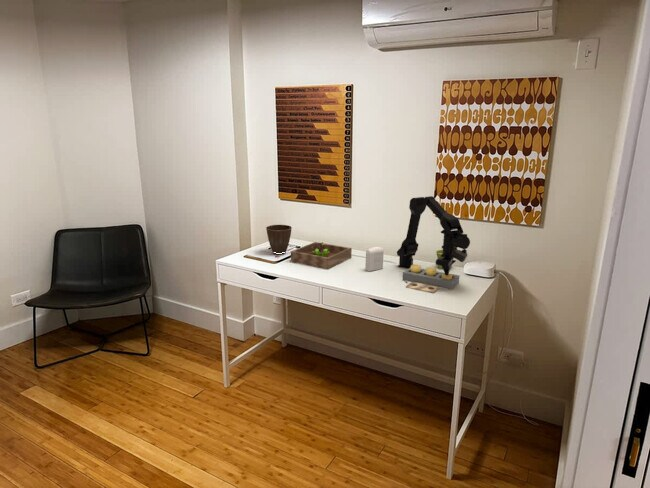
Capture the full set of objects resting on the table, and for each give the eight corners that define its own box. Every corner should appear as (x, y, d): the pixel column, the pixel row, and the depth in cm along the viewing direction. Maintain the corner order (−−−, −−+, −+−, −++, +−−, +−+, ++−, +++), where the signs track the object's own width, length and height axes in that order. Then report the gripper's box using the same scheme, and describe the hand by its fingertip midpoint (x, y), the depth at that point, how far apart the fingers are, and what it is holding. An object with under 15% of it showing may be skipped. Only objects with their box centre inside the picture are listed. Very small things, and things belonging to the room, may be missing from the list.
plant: (308, 267, 249) (308, 247, 246) (300, 257, 267) (300, 238, 264) (343, 264, 254) (343, 244, 251) (333, 254, 272) (333, 236, 269)
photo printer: (378, 266, 248) (379, 244, 245) (384, 268, 245) (385, 246, 242) (364, 270, 243) (364, 247, 240) (369, 272, 239) (369, 249, 236)
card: (405, 287, 217) (405, 285, 217) (412, 282, 224) (412, 281, 224) (433, 293, 210) (434, 291, 210) (439, 288, 217) (439, 286, 216)
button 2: (424, 277, 224) (424, 269, 223) (427, 274, 228) (428, 266, 227) (433, 279, 222) (434, 271, 221) (437, 276, 226) (437, 268, 225)
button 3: (439, 283, 220) (440, 275, 219) (443, 280, 225) (443, 272, 224) (449, 285, 218) (450, 277, 217) (453, 282, 222) (453, 274, 221)
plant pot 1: (295, 251, 277) (295, 225, 273) (286, 258, 264) (285, 231, 259) (273, 249, 282) (272, 223, 278) (262, 255, 268) (261, 229, 264)
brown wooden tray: (290, 261, 257) (290, 251, 255) (315, 251, 277) (315, 241, 275) (328, 269, 244) (328, 258, 242) (351, 258, 264) (351, 248, 262)
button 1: (408, 274, 228) (409, 266, 227) (412, 271, 232) (413, 264, 231) (418, 276, 226) (418, 268, 225) (421, 273, 230) (422, 265, 229)
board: (402, 280, 228) (402, 272, 227) (410, 274, 237) (411, 266, 236) (451, 289, 215) (452, 281, 214) (458, 283, 224) (459, 275, 223)
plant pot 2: (440, 270, 242) (441, 255, 240) (431, 265, 251) (432, 250, 249) (455, 269, 245) (457, 253, 242) (446, 264, 253) (448, 249, 251)
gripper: (460, 251, 204) (457, 283, 208) (471, 242, 220) (469, 272, 224) (436, 247, 210) (434, 279, 214) (449, 239, 225) (446, 269, 229)
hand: (446, 275), depth 220 cm, fingers closed, pressing on button 3
